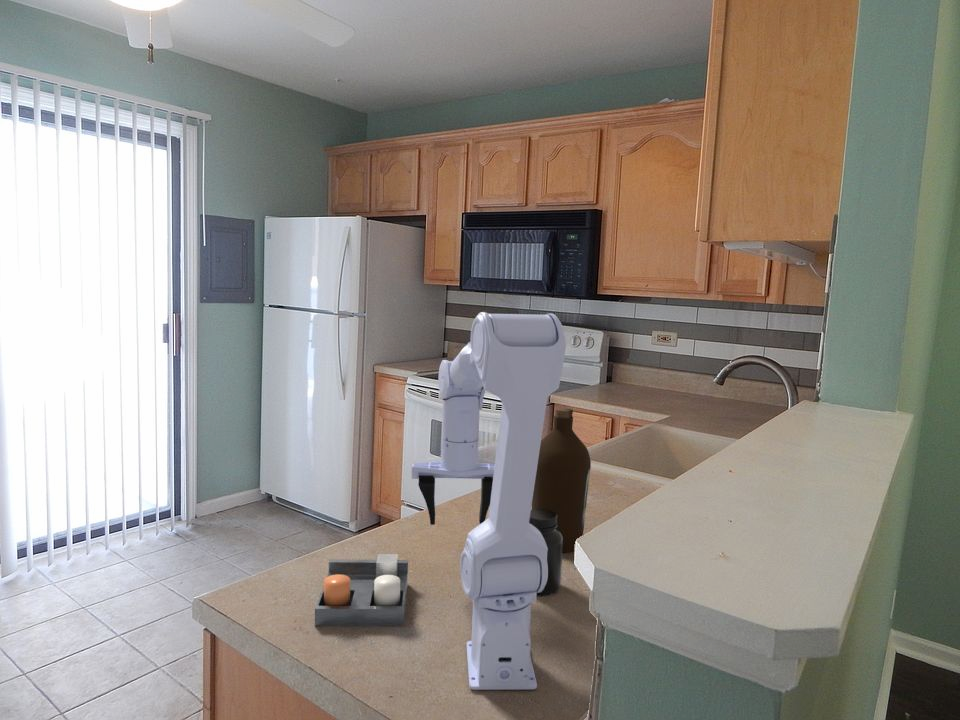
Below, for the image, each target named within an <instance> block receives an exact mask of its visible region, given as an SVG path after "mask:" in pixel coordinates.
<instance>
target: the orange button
mask: <svg viewBox="0 0 960 720" xmlns="http://www.w3.org/2000/svg"><path fill="white" fill-rule="evenodd" d="M326 577H327V576H326ZM326 577H325V578H324V579H323V585H324V604H325V605H327V606H344V605H346V604H348V603H349V601H350V578H349V577H348V576H346V575H341V574H337V575H331V576H328V577H327V578H326Z"/></svg>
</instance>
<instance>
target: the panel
mask: <svg viewBox="0 0 960 720" xmlns="http://www.w3.org/2000/svg"><path fill="white" fill-rule="evenodd" d="M376 562H377V559H353V558H352V559H351V558H350V559H349V558H348V559H342V558H341V559H338V558H337V559H335V558H332V559H329V560H328V572H327V575H326V577H325V578H327V577H328V576H331V575H337V574H341V575H346V576H348V577H349V578H350V601H349V603H348V604H346V605H344V606H327V605H325V604H324V584H323V586H322V589H321V591H320V594H319V596H318V599H317V601H316V605H315V608H314V627H404V625H405V624H404V623H405V614H406V613H405V612H406V604H407V594H408V593H407V592H408V586H407V585H409V583H408V582H409V560H408V559H398V574H397V577H399V578H400V602H399V603H398V604H397V605H395V606H377V605H376V604H375V603H374V581H375V579H376Z"/></svg>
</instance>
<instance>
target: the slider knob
mask: <svg viewBox="0 0 960 720" xmlns="http://www.w3.org/2000/svg"><path fill="white" fill-rule="evenodd" d="M376 560H377V562H376V578H377V577H379V576H382V575H394V576H397V574H398V560H399V554H397V553H390V554H389V553H386V554H385V553H377V558H376Z"/></svg>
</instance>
